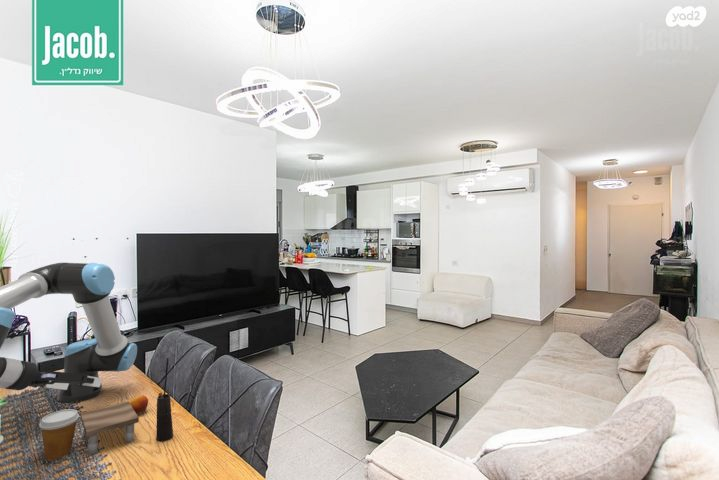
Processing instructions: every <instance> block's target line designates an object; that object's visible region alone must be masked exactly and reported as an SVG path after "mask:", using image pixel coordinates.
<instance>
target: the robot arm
mask: <svg viewBox="0 0 719 480" xmlns="http://www.w3.org/2000/svg"><path fill="white" fill-rule="evenodd" d="M114 273H115V272H113V270H112V268H111V267H110V266H108V265H107V264H104V263H97V262H90V263H82V262H56V263H52V264H48V265H45V266H41V267H38V268H35V269H32V270H29V271H28V272H25V273H23V274H21V275H20V276H19V277H18V278H17V279H16V280H14V281H11V282H9V283H6V284H4V285H1V286H0V350H1V349H2V347H3V344H4V343H5V340H6V339H7V337H8V334H9V332H10V330H11V329H12V328H13V327H12V325H13V323H14V320H15V318H16V313H15V311H14V310H12V309H13V308H15V307H17V306H19V305H21V304H23V303H25V302H27V301H29V300H31V299H38V298H42V297H43V296H47V295H54V294H55V295H57V294H58V295H59V294H61V295H63V294H64V295H72V297H73V300H74V301H75V303H77V304H80V305H81V306H82V309H83V311H84V314H85V316H86V319H87V321H88V323H89V326H90V329H91V331H92V333H93V336H94V338H90V339H84V340H79V341H76V342H73V343H70V344H68V345H67V346H66V348H65V351H64V356H63V357H64V366H63V368H64V369H63V371H62V372H61V371H55V370H47V369H40V370H38V365H37V364H36V362H32V361H31V362H30V361H25V360H20V359H15V358H9V357H5V356H4V357H2V356H0V389H4V390H13V391H22V390H25V389H26V388H27V387H31V388H34V389H35V388H46V389H55V390H58V392H57V400H56V401H58V402H60V403H63V404H64V403H65V404H66V403H67V404H68V403H69V404H70V403H78V402H83V401H87V400H88V401H89V400H91V399H93V398H96V397H98V396H99V395H101V394H102V392H103V385H102V381H103V378H102V377H100V376H99V372H111V373H112V372H117V373H119V372H126V371H128V370H130V369H131V367H132V366H133V364H134V363H135V360H136V358H137V354H138V345H137V344H136V343H133V342H129V340H128V338H127V336H125V335H123V334H122V333H121V329H120V326H119V323H118V320H117V318H116V316H115V312H114V310H113V306H112V304H111V301H110V297H109V296H110V295H111V294H112V293H111V292H112V291H113V289H114V287H115V274H114Z"/></svg>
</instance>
